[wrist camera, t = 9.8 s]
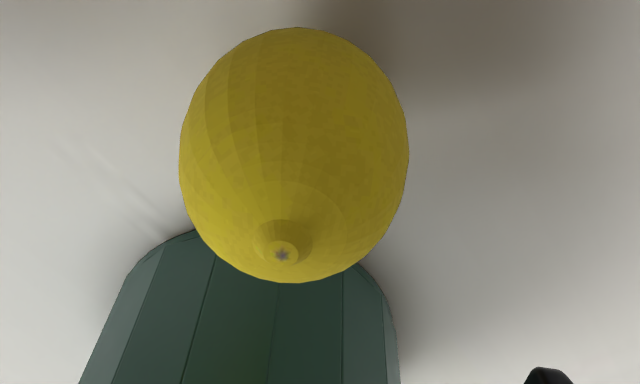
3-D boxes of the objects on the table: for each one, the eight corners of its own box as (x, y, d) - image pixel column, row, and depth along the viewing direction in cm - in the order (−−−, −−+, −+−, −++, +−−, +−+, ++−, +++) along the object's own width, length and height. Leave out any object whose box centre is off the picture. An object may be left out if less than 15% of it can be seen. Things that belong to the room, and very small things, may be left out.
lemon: (390, 159, 19) (413, 354, 12) (224, 156, 19) (160, 347, 13) (403, -12, 16) (443, 131, 9) (204, -13, 16) (105, 126, 9)
